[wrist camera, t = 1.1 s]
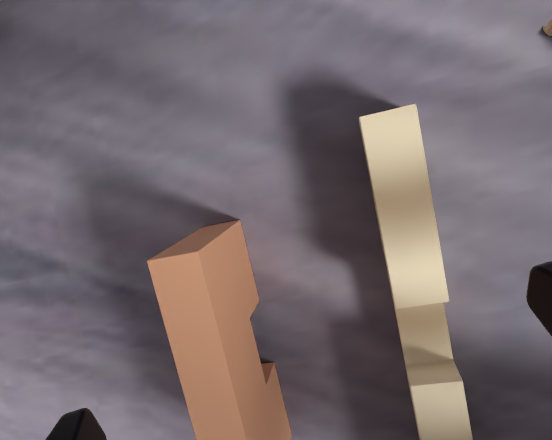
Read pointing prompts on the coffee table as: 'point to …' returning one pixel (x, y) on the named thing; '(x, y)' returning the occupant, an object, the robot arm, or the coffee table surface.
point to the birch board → (415, 270)
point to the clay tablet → (548, 28)
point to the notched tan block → (218, 336)
